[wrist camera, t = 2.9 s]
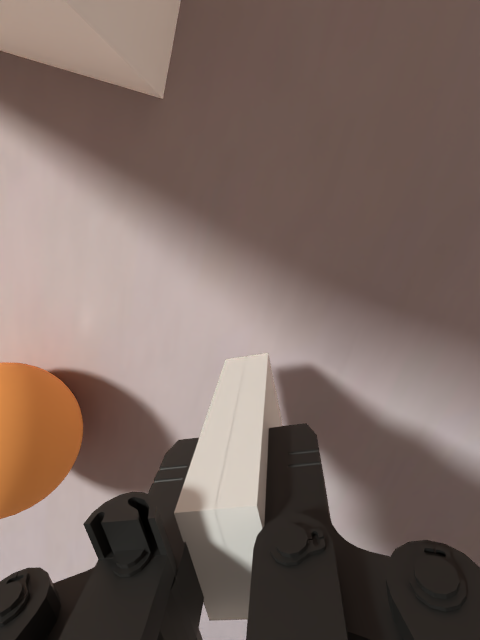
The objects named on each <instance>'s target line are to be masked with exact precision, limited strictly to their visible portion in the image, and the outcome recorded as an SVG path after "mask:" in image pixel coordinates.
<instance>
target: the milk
mask: <svg viewBox="0 0 480 640" xmlns="http://www.w3.org/2000/svg"><path fill="white" fill-rule="evenodd" d="M180 3H181V0H0V51H3V52H6V53H10V54H13V55H16V56H20V57H23V58H26V59H30V60H33V61H37V62H40V63H43V64H47V65H50V66H53V67H57V68H60V69H64V70H67V71H70V72H74V73H77V74H80V75H84V76H87V77H91V78H94V79H97V80H101V81H104V82H107V83H111V84H114V85H118V86H121V87H124V88H128V89H131V90H134V91H138V92H141V93H145V94H148V95H151V96H155V97H158V98H161V99H163V96H164V91H165V85H166V80H167V74H168V69H169V63H170V58H171V52H172V47H173V41H174V36H175V30H176V25H177V19H178V14H179V8H180Z"/></svg>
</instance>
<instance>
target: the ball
mask: <svg viewBox="0 0 480 640" xmlns="http://www.w3.org/2000/svg"><path fill="white" fill-rule="evenodd" d="M82 436H83V420H82V414H81V410H80V407H79V404H78V402H77V400H76V398H75V397H74V395H73V393H72V392H71V391H70V389H69V388H68V387H67V386H66V385H65V384H64V383H63V382H62V381H61V380H60V379H58V378H57V377H56V376H54V375H53V374H51V373H49V372H47V371H46V370H43V369H41V368H38V367H35V366H31V365H27V364H22V363H0V519H1V518H5V517H8V516H11V515H15V514H17V513H19V512H21V511H24V510H26V509H28V508H30V507H32V506H33V505H35V504H36V503H38V502H40V501H41V500H43V499H44V498H45V497H47V496H48V495H49V494H50V493H51V492H52V491H53V490H54V489H55V488H57V487H58V485H59V484H60V483H61V482H62V481H63V480H64V478H65V477H66V476H67V474H68V473H69V471H70V470H71V468H72V466H73V464H74V462H75V460H76V458H77V456H78V453H79V450H80V447H81V443H82Z"/></svg>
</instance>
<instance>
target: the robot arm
mask: <svg viewBox="0 0 480 640" xmlns="http://www.w3.org/2000/svg"><path fill="white" fill-rule="evenodd" d="M84 526H85V529H86V531H87V533H88V536H89V538H90V540H91V543H92V545H93V548H94V550H95V552H96V555H97V557H98V559H99V560H98V562H97V564H96V566H95V567H94V568H92V569H90V570H88V571H85V572H83V573H80V574H77V575H75V576H72V577H69V578H67V579H64V580H61V581H59V582H56V583H52V581H51V579H50V577H49V575H48V573H47V572H46V571H44V570H43V569H41V568H26V569H24V570H21V571H18V572H15V573H13V574H11V575H10V576H8V577H7V578H5V579H3V580H2V581H0V640H203V639H202V637H201V634H200V631H199V628H198V627H199V622H200V616H201V611H202V606H203V602H204V605H205V608H206V611H207V614H208V617H209V620H239V619H248V623H247V636H246V640H480V568H479V567H478V566H477V565H476V564H475V563H474V562H473V561H472V560H471V559H469V558H468V557H467V556H466V555H465V554H463V553H462V552H460V551H458V550H456V549H454V548H452V547H450V546H448V545H446V544H442V543H438V542H433V541H428V540H423V541H413V542H408V543H406V544H404V545H402V546H401V547H399V548H397V549H395V551H394V552H393V554H392V555H391V557H390V556H385V555H381V554H377V553H373V552H369V551H366V550H363V549H361V548H358V547H356V546H354V545H352V544H351V543H349V542H347V541H346V540H345V539H344V538H343V537H342V536H341V535H339V534H338V533H337V531H336V529H335V528H334V526H333V525H332V523H331V519H330V513H329V506H328V500H327V494H326V488H325V481H324V476H323V470H322V464H321V458H320V453H319V447H318V441H317V435H316V434H315V433H314V431H313V430H312V429H311V428H310V427H309V426H308V425H307V423H306V424H297V425H289V426H282V419H281V414H280V409H279V404H278V399H277V394H276V389H275V384H274V379H273V374H272V369H271V364H270V359H269V355H268V353H264V354H258V355H251V356H245V357H238V358H232V359H226V360H225V363H224V366H223V369H222V372H221V375H220V378H219V381H218V384H217V387H216V390H215V393H214V396H213V399H212V402H211V405H210V408H209V411H208V414H207V416H206V419H205V422H204V425H203V428H202V431H201V434H200V437H199V438H192V439H183V440H178V441H177V442H176V443H175V445H174V446H173V447H172V448H171V449H170V450H169V451H168V452H167V453H166V455H165V457H164V459H163V461H162V464H161V466H160V471H158V473H157V475H156V477H155V479H154V483H153V484H152V486H151V488H150V490H149V493H148V494H146V493H142V492H130V493H126V494H122V495H119V496H117V497H115V498H113V499H111V500H109V501H107V502H105V503H104V504H103V505H101V506H100V507H99V508H98V509H96V510H95V511H94V512H93V513H92V514H91V515H90V517H89V518H88V519H87V520H86V522H85V523H84Z"/></svg>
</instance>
